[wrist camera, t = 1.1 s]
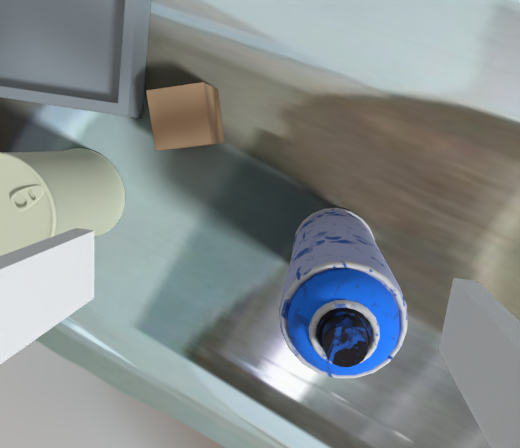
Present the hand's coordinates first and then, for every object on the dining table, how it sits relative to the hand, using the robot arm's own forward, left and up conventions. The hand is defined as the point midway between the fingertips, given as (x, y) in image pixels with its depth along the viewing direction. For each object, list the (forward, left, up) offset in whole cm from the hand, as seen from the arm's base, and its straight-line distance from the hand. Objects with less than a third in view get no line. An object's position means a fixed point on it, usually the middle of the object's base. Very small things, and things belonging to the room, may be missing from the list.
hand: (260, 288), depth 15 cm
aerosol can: (+4, +4, -26) cm, 26 cm away
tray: (-12, -25, -25) cm, 37 cm away
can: (+3, -22, -26) cm, 34 cm away
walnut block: (-6, -11, -26) cm, 28 cm away
